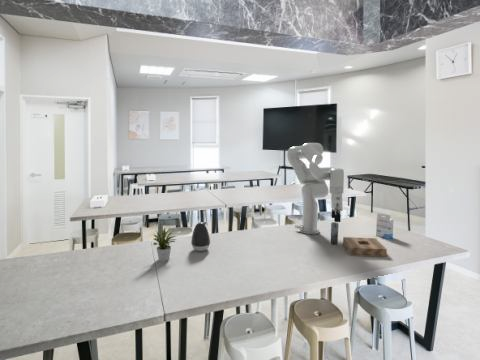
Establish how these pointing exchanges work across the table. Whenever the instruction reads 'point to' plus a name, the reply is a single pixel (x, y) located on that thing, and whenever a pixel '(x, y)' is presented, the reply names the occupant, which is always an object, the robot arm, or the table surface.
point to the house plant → (163, 245)
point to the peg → (334, 233)
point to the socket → (364, 246)
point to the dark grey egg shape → (200, 237)
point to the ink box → (384, 226)
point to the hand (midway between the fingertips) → (335, 219)
